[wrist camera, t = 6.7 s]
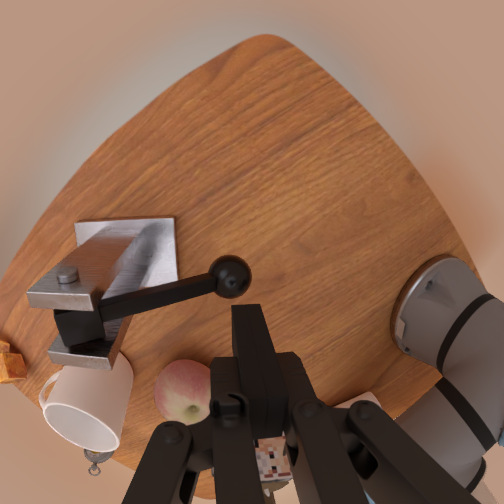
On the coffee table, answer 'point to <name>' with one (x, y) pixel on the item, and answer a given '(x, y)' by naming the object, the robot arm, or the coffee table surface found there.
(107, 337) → the bracket
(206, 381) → the apple
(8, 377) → the pyrite
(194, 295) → the lever
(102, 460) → the pocket watch
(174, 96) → the coffee table surface
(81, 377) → the mug
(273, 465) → the toy
